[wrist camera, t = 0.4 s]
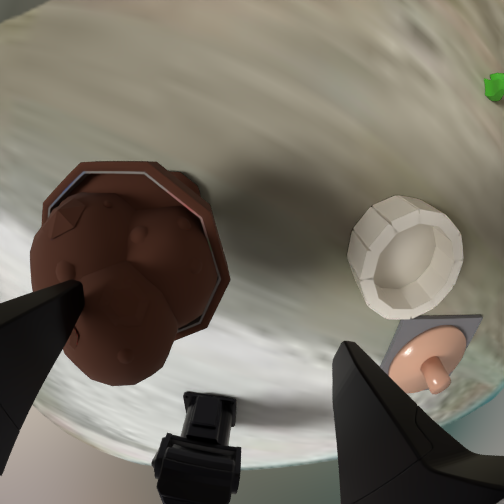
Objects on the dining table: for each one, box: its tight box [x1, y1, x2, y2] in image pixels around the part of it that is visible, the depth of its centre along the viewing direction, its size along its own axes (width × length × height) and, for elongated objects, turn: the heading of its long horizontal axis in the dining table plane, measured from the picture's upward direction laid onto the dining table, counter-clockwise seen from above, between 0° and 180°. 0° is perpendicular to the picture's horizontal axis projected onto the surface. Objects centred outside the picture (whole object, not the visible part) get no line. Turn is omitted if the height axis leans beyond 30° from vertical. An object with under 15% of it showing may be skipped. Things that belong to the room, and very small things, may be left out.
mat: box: [380, 315, 483, 390], centre depth 27 cm, size 12×12×1 cm
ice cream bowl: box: [30, 161, 230, 386], centre depth 15 cm, size 11×11×15 cm
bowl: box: [347, 195, 464, 319], centre depth 20 cm, size 9×9×4 cm
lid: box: [388, 325, 466, 394], centre depth 25 cm, size 10×10×4 cm
